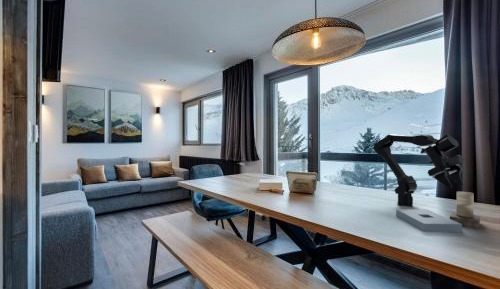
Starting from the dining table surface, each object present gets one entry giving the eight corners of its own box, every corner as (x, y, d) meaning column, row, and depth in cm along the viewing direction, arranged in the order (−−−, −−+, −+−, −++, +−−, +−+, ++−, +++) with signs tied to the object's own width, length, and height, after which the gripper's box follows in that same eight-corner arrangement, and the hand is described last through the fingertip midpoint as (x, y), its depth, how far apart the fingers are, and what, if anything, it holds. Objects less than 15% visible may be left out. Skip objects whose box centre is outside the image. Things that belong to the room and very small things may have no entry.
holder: (449, 223, 104) (449, 216, 104) (452, 218, 110) (452, 211, 110) (478, 228, 97) (478, 221, 97) (479, 223, 104) (479, 216, 103)
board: (396, 215, 115) (396, 209, 115) (427, 215, 114) (427, 209, 114) (424, 231, 95) (424, 223, 95) (461, 231, 94) (461, 224, 94)
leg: (458, 224, 102) (458, 193, 102) (454, 220, 107) (454, 190, 107) (475, 226, 100) (476, 194, 100) (471, 222, 105) (471, 192, 105)
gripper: (441, 149, 110) (463, 181, 102) (463, 148, 117) (486, 178, 110) (419, 161, 118) (438, 191, 111) (441, 159, 126) (461, 187, 119)
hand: (456, 186), depth 112 cm, fingers open, 9 cm apart
